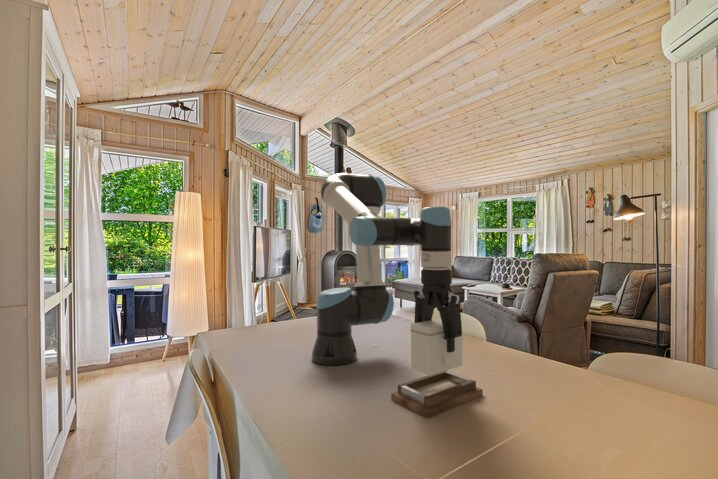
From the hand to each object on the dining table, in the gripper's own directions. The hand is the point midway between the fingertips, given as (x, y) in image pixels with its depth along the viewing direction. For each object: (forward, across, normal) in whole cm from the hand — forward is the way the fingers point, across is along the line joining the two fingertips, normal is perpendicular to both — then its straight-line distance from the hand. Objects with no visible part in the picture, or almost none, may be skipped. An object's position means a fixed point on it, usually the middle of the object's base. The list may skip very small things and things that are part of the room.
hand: (437, 361), depth 89 cm
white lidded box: (+1, 0, 0) cm, 1 cm away
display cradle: (+9, 0, 0) cm, 9 cm away
